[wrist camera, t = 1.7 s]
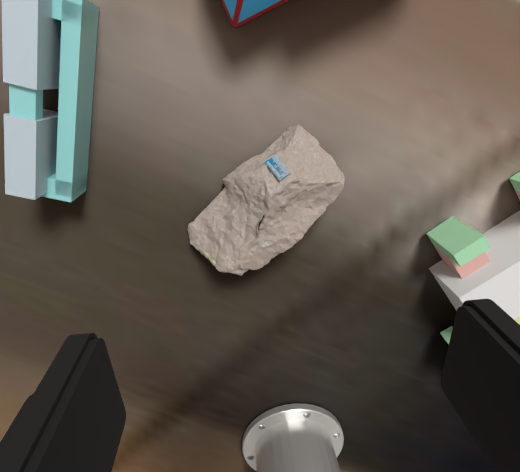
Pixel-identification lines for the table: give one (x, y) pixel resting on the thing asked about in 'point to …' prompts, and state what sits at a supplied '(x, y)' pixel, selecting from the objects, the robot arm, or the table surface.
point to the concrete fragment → (267, 203)
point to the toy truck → (248, 9)
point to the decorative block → (479, 262)
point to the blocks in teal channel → (31, 95)
